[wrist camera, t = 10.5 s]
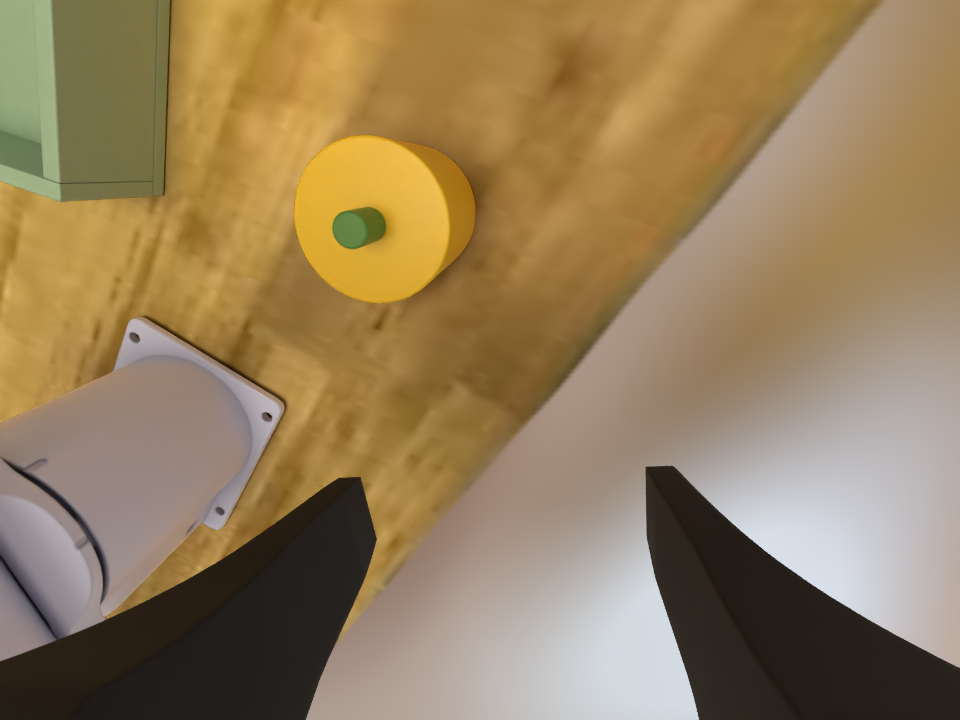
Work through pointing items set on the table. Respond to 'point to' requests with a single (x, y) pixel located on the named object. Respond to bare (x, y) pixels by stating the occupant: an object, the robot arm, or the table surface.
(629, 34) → the table surface
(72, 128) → the basket
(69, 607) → the robot arm
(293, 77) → the table surface
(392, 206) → the pepper
